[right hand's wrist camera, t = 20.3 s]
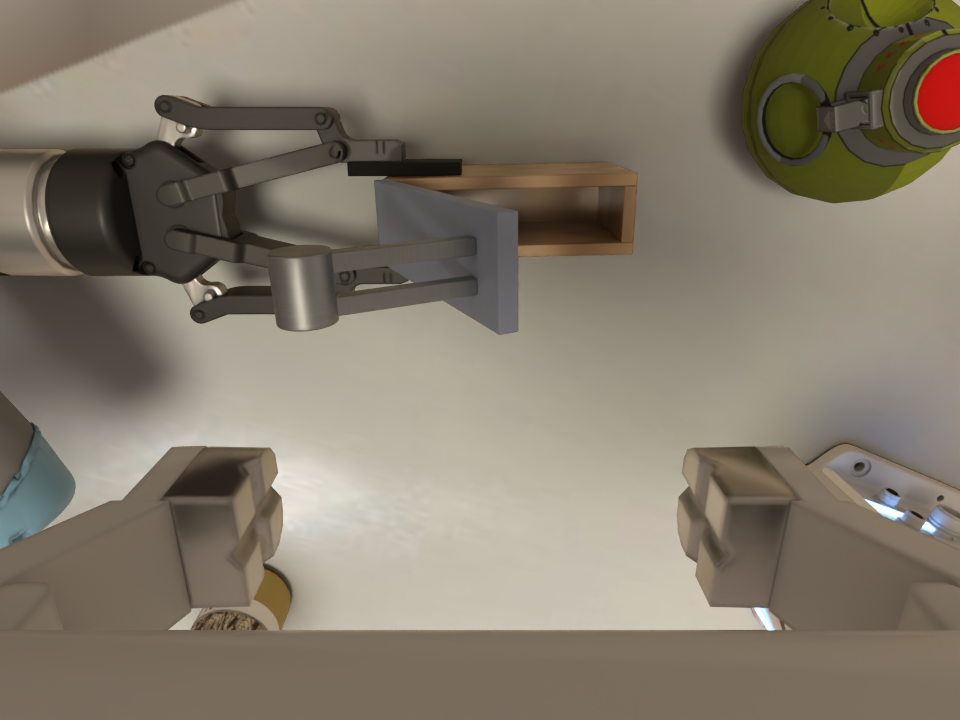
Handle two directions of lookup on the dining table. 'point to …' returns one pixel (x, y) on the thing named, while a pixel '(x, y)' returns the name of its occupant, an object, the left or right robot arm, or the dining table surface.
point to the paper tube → (251, 610)
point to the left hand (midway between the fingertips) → (461, 213)
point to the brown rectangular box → (552, 203)
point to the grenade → (855, 96)
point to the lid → (408, 263)
